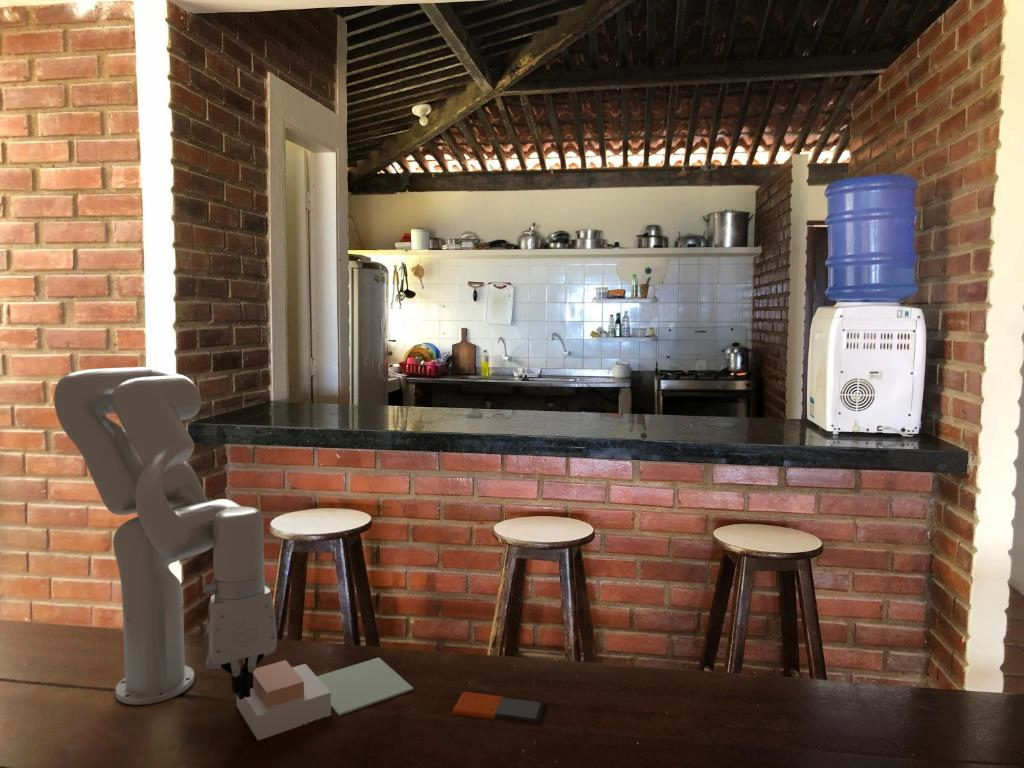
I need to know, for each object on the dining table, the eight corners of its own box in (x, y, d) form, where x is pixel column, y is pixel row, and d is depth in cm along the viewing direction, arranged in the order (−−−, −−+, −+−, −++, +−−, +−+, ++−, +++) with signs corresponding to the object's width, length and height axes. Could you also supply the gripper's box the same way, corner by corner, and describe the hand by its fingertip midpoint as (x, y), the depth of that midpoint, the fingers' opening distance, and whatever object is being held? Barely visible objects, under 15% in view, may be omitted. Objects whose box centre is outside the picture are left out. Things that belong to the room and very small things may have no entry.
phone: (462, 689, 121) (545, 700, 118) (462, 696, 121) (545, 707, 118) (451, 709, 114) (539, 721, 111) (451, 717, 115) (538, 729, 111)
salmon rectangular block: (250, 684, 116) (250, 669, 116) (286, 673, 119) (285, 659, 119) (267, 707, 109) (266, 692, 108) (304, 695, 112) (303, 681, 112)
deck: (236, 706, 116) (236, 683, 116) (305, 684, 123) (305, 663, 123) (257, 740, 107) (257, 716, 106) (331, 715, 114) (330, 692, 113)
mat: (309, 680, 125) (309, 678, 125) (378, 659, 133) (378, 657, 133) (339, 715, 114) (339, 713, 113) (413, 690, 122) (413, 687, 122)
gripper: (194, 603, 102) (198, 720, 103) (293, 582, 110) (296, 690, 112) (184, 588, 108) (188, 699, 109) (279, 569, 116) (281, 672, 118)
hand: (242, 694), depth 110 cm, fingers closed
